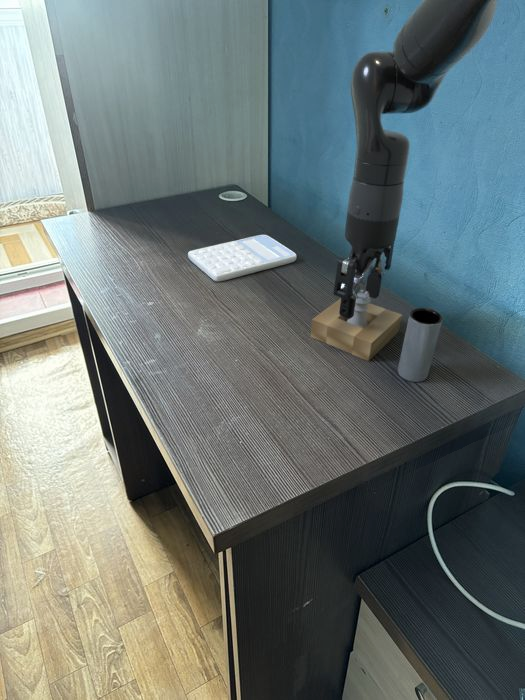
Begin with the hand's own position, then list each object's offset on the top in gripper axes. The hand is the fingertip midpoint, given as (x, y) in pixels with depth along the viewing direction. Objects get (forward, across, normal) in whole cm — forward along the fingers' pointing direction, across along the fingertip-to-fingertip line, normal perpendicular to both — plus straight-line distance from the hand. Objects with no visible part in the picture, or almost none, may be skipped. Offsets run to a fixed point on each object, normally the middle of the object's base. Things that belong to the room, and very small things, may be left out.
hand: (359, 306), depth 85 cm
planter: (+6, -4, -12) cm, 14 cm away
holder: (+6, 0, 0) cm, 6 cm away
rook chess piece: (+6, 0, 0) cm, 6 cm away
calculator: (+6, +10, +33) cm, 35 cm away
